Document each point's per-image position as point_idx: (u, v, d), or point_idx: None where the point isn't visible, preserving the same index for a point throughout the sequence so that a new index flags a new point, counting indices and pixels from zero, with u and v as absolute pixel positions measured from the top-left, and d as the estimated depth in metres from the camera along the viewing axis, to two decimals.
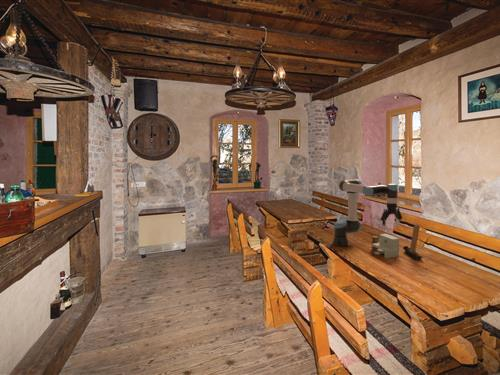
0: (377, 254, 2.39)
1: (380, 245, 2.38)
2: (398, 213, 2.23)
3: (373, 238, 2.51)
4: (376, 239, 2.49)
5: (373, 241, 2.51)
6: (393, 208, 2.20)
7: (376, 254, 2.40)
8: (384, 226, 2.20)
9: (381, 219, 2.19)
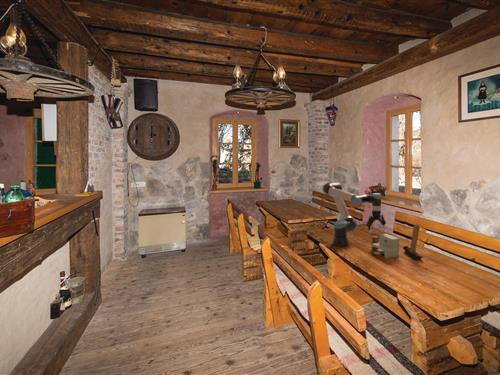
0: (377, 254, 2.39)
1: (380, 245, 2.38)
2: (382, 219, 2.51)
3: (373, 238, 2.51)
4: (376, 239, 2.49)
5: (373, 241, 2.51)
6: None
7: (376, 254, 2.40)
8: (370, 231, 2.48)
9: (367, 225, 2.47)
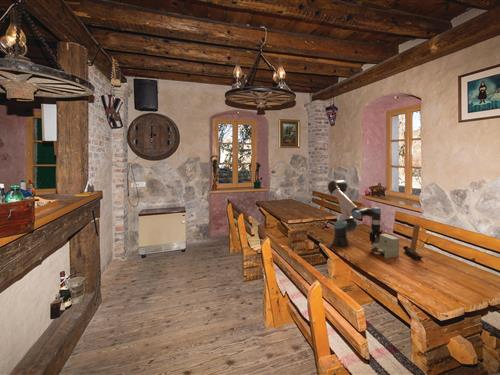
0: (377, 254, 2.39)
1: (380, 245, 2.38)
2: (379, 234, 2.52)
3: None
4: (376, 239, 2.49)
5: None
6: None
7: (376, 254, 2.40)
8: (373, 246, 2.51)
9: (370, 240, 2.50)
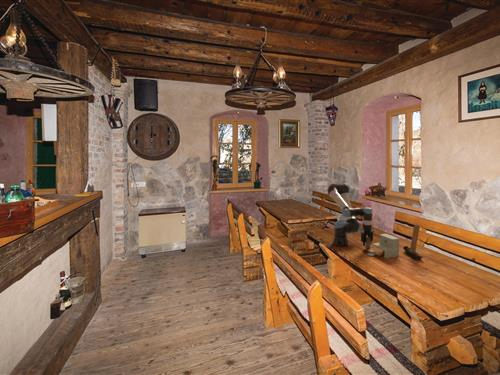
0: (369, 255, 2.37)
1: (380, 245, 2.38)
2: (371, 235, 2.49)
3: None
4: (367, 240, 2.47)
5: None
6: (368, 229, 2.47)
7: (369, 255, 2.37)
8: (364, 247, 2.48)
9: (361, 241, 2.47)
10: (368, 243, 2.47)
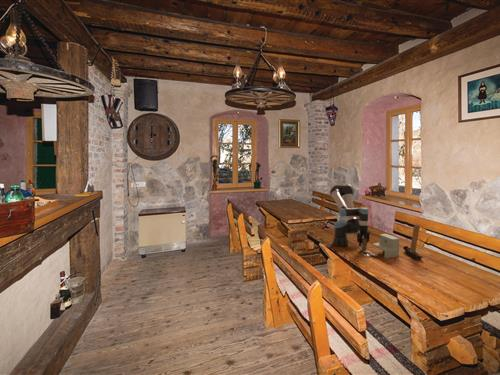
0: (365, 256, 2.35)
1: (380, 245, 2.38)
2: (367, 235, 2.48)
3: None
4: (364, 240, 2.45)
5: None
6: None
7: None
8: (360, 247, 2.47)
9: (357, 241, 2.46)
10: (364, 244, 2.46)
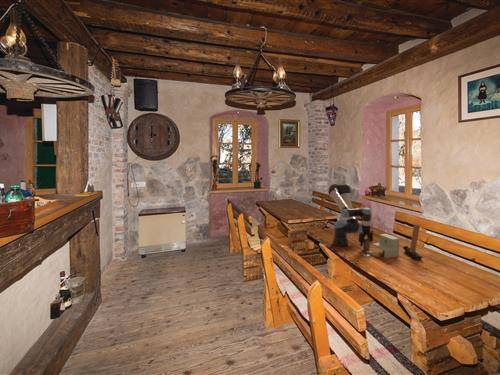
0: (365, 256, 2.35)
1: (380, 245, 2.38)
2: (371, 235, 2.49)
3: None
4: (366, 240, 2.46)
5: (363, 242, 2.48)
6: None
7: None
8: (362, 247, 2.47)
9: (359, 241, 2.46)
10: (367, 244, 2.47)
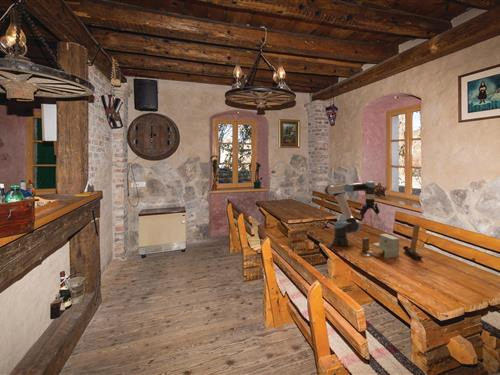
0: (365, 256, 2.35)
1: (380, 245, 2.38)
2: (376, 208, 2.48)
3: (363, 239, 2.48)
4: (366, 240, 2.46)
5: (363, 242, 2.48)
6: (371, 203, 2.44)
7: None
8: (363, 219, 2.45)
9: (360, 213, 2.43)
10: (367, 244, 2.47)
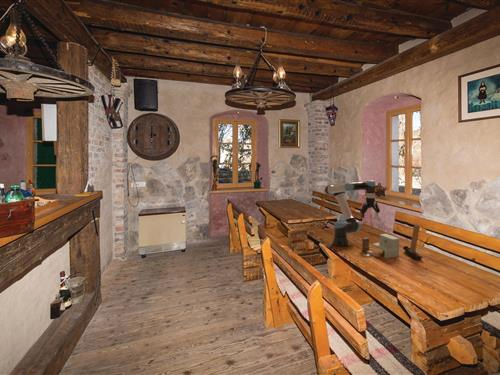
0: (365, 256, 2.35)
1: (380, 245, 2.38)
2: (376, 207, 2.47)
3: (363, 239, 2.48)
4: (366, 240, 2.46)
5: (363, 242, 2.48)
6: (371, 202, 2.44)
7: None
8: (363, 218, 2.44)
9: (360, 212, 2.43)
10: (367, 244, 2.47)
